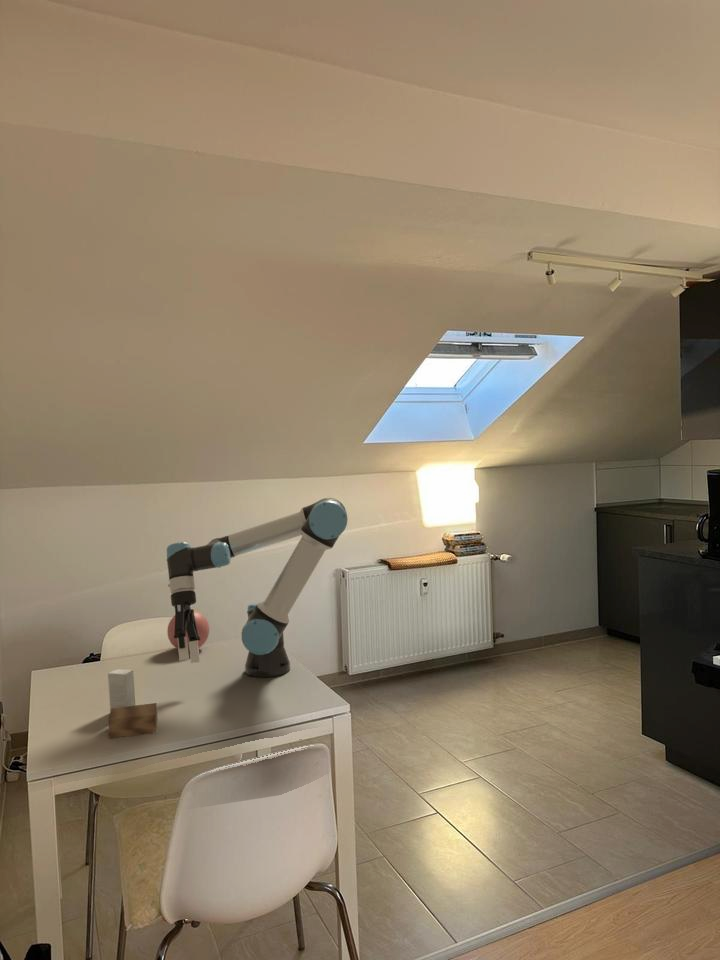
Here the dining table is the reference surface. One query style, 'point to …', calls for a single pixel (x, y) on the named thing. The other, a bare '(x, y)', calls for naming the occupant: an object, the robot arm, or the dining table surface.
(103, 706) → the dining table surface
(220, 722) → the dining table surface
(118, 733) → the block
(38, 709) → the dining table surface
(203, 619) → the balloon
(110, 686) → the skincare box
